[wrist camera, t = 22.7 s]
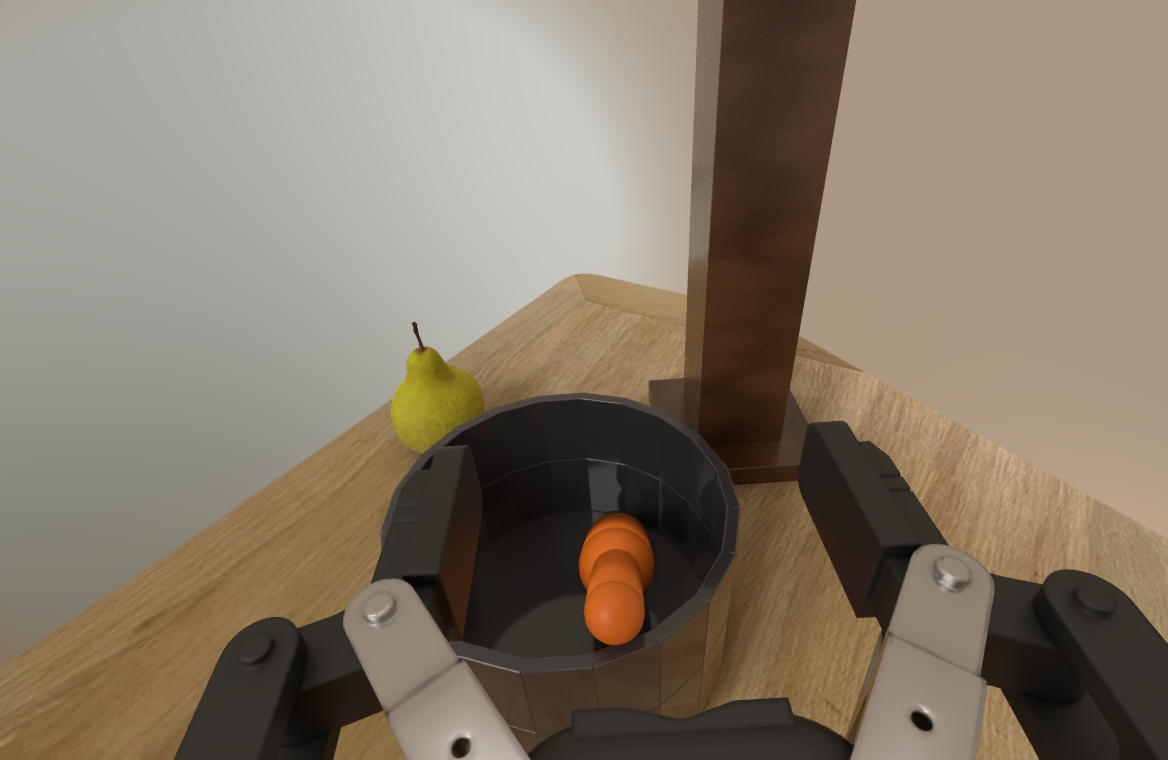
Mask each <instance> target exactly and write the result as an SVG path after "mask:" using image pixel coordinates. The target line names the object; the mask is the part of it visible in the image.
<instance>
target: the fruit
mask: <svg viewBox="0 0 1168 760" xmlns="http://www.w3.org/2000/svg"><path fill="white" fill-rule="evenodd" d="M412 325H413V330H414V333H415V335H416V337H417V339H418V342H419V348H417V349H415V350H413V351H412V352H411V353H410V355H409V357H408V359H407V375H406V378H405V379H404V381H403V382H402V383H401V384H400V385H399V386H398V388H397V389H396V391H395V393H394V395H393V399H392V405H391V418H392V421H393V425H394V428H395V431H396V433H397V435H398V436H399V438H400V439H401V440H402V442H403V443H405V444H406V445H407V446H408V447H410V448H411V449H412V450H414V451H416V452H418V453H421V454H422V453H424V452H425V451H426V450H427V449H429V448H430V447H431V446H432V445H434V444H435V443H436V442H437V441H439V440H440V439H441V438H443V437H444V436H445V435H446V434H448V433H449V432H450V431H451V430H453V429H454V428H455V427H457V426H459V425H461V424H463V423H465V422H467V421H469V420H471V419H473V418H475V417H477V416H479V415H481V414H483V413H484V401H483V396H482V392H481V389H480V387H479V385H478V383H477V382H476V380H475V379H474V378H473V377H472V376H471V375H469V374H468V373H466V372H465V371H463V370H461V369H459V368H457V367H454V366H451V365H448V364H446V363H445V362H444V361H443V359H442V358H441V356H440V355H439V353H438V352H437V351H435V350H434V349H432V348H430V347H423V344H422V342H421V339H420V336H419V334H418V328H417V324H416V322H413V323H412Z"/></svg>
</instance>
